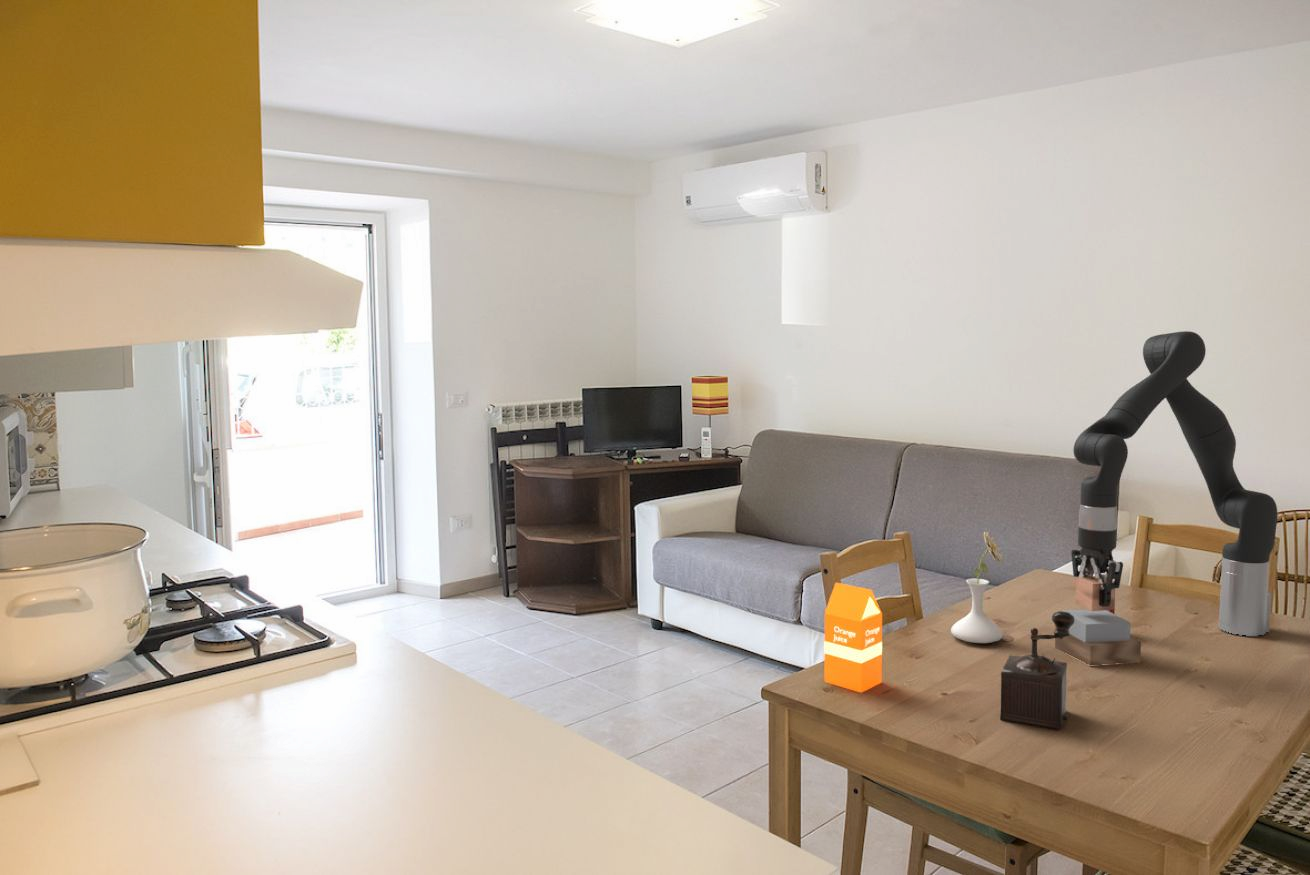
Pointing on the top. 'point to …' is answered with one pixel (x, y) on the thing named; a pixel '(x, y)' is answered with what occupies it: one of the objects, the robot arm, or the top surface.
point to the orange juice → (853, 638)
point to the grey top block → (1099, 626)
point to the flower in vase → (979, 606)
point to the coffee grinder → (1036, 683)
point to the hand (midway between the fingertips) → (1094, 601)
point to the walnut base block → (1100, 650)
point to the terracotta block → (1091, 594)
